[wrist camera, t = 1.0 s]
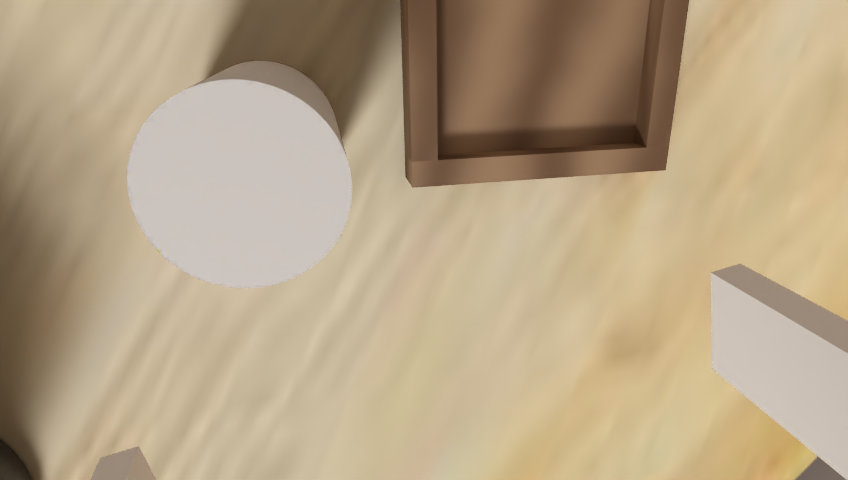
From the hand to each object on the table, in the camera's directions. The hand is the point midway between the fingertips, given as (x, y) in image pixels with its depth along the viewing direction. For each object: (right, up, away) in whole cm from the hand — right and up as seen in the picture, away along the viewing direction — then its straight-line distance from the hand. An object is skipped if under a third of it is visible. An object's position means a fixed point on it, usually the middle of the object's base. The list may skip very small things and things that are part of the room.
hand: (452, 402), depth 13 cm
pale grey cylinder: (-10, +10, +20) cm, 24 cm away
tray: (+6, +16, +21) cm, 27 cm away
